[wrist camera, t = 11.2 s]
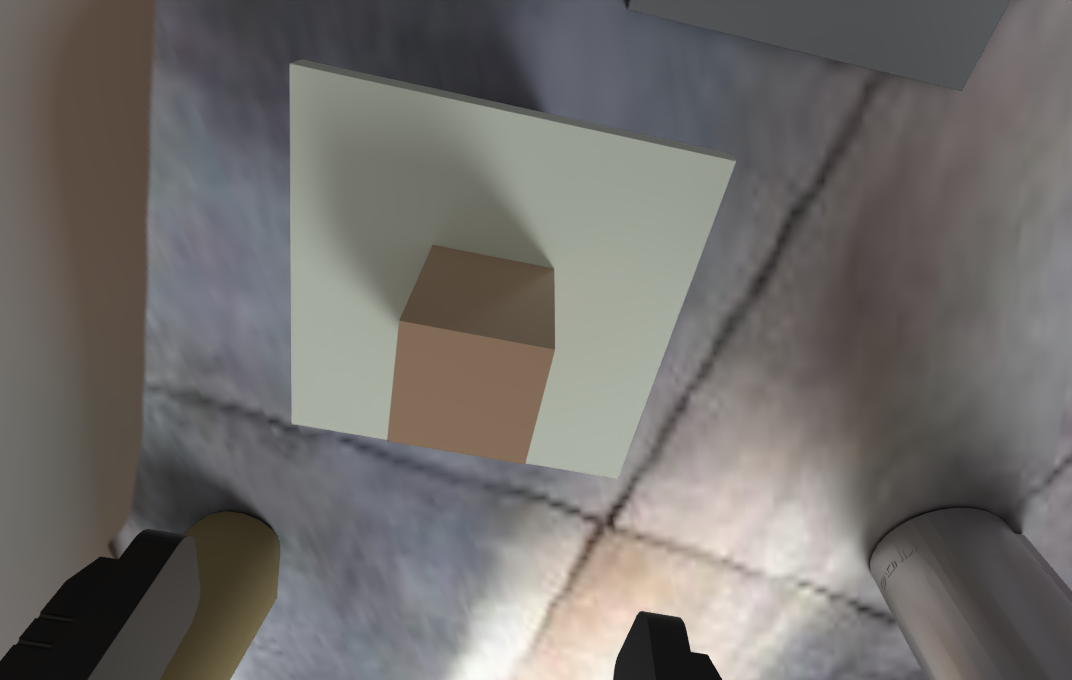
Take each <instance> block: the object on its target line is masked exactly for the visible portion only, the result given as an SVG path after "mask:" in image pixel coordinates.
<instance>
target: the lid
mask: <svg viewBox="0 0 1072 680" xmlns="http://www.w3.org/2000/svg"><path fill="white" fill-rule="evenodd" d="M735 163H736V161H735V160H734V159H733V158H732V157H731V156H730V155H729V154H728V153H726V152H722V151H717V150H713V149H708V148H704V147H699V146H694V145H690V144H685V143H681V142H676V141H672V140H667V139H663V138H658V137H653V136H649V135H644V134H640V133H635V132H631V131H626V130H622V129H617V128H612V127H608V126H603V125H599V124H594V123H590V122H585V121H581V120H576V119H572V118H567V117H562V116H558V115H553V114H549V113H544V112H540V111H535V110H531V109H526V108H521V107H517V106H512V105H508V104H503V103H499V102H494V101H490V100H485V99H480V98H476V97H471V96H467V95H462V94H458V93H453V92H449V91H444V90H439V89H435V88H430V87H426V86H421V85H417V84H412V83H408V82H403V81H399V80H394V79H389V78H385V77H380V76H376V75H371V74H367V73H362V72H358V71H353V70H348V69H344V68H339V67H335V66H330V65H326V64H321V63H317V62H312V61H307V60H303V59H302V60H299V61H296V62H293V63H290V218H291V380H292V424H297V425H303V426H309V427H315V428H320V429H326V430H332V431H338V432H344V433H350V434H356V435H362V436H368V437H374V438H380V439H386V440H387V441H391V442H396V443H402V444H408V445H414V446H420V447H426V448H432V449H438V450H444V451H450V452H456V453H462V454H468V455H474V456H479V457H485V458H491V459H497V460H503V461H509V462H515V463H521V464H525V463H528V464H534V465H540V466H545V467H551V468H557V469H563V470H569V471H575V472H581V473H587V474H593V475H599V476H605V477H611V478H617V479H618V476H619V474H620V471H621V468H622V466H623V463H624V460H625V458H626V455H627V452H628V450H629V447H630V444H631V442H632V439H633V436H634V434H635V431H636V428H637V426H638V423H639V420H640V418H641V415H642V412H643V409H644V407H645V404H646V401H647V399H648V396H649V393H650V391H651V388H652V385H653V383H654V380H655V377H656V375H657V372H658V369H659V367H660V364H661V361H662V359H663V356H664V353H665V351H666V348H667V345H668V343H669V340H670V337H671V335H672V332H673V329H674V327H675V324H676V321H677V318H678V316H679V313H680V310H681V308H682V305H683V302H684V300H685V297H686V294H687V292H688V289H689V286H690V284H691V281H692V278H693V276H694V273H695V270H696V268H697V265H698V262H699V260H700V257H701V254H702V252H703V249H704V246H705V244H706V241H707V238H708V236H709V233H710V230H711V228H712V225H713V222H714V219H715V217H716V214H717V211H718V209H719V206H720V203H721V201H722V198H723V195H724V193H725V190H726V187H727V185H728V182H729V179H730V177H731V174H732V171H733V169H734V166H735Z"/></svg>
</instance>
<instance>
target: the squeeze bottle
mask: <svg viewBox="0 0 1072 680" xmlns="http://www.w3.org/2000/svg"><path fill="white" fill-rule="evenodd" d="M182 535H188V536H192V537H193V538H194V540H195V545H196V554H197V563H198V572H199V580H200V599H199V604H198V607H197V610H196V613H195V616H194V618H193V621H192V623H191V625H190V627H189V629H188V631H187V632H186V634H185V636H184V638H183V639H182V641H181V643H180V645H179V646H178V648H177V650H176V652H175V653H174V655H173V657H172V659H171V660H170V662H169V664H168V666H167V667H166V669H165V671H164V673H163V674H162V676H161V678H160V680H230V679H231V677H232V675H233V674H234V672H235V670H236V668H237V667H238V665H239V663H240V661H241V660H242V658H243V656H244V654H245V653H246V651H247V649H248V647H249V646H250V644H251V642H252V640H253V639H254V637H255V635H256V633H257V632H258V630H259V628H260V626H261V625H262V623H263V621H264V619H265V618H266V616H267V614H268V612H269V611H270V609H271V607H272V605H273V604H274V602H275V600H276V599H277V589H278V575H279V561H280V541H279V540H278V538H277V536H276V535H275V533H274V532H273V530H272V529H271V528H269V527H268V526H267V525H265V524H264V523H263V522H261V521H260V520H258V519H256V518H253V517H251V516H248V515H246V514H242V513H235V512H228V511H225V512H219V513H212V514H210V515H208V516H207V517H205V518H203V519H202V520H200V521H199V522H197V523H196V524H195V525H194V526H192V527H191V528H190V529H188V530H187V531H186V532H184V533H183V534H182Z"/></svg>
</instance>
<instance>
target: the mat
mask: <svg viewBox="0 0 1072 680" xmlns="http://www.w3.org/2000/svg"><path fill="white" fill-rule="evenodd" d="M1009 2H1010V0H629V2H628V6H627V9H628V10H632V11H636V12H640V13H644V14H648V15H652V16H657V17H661V18H665V19H669V20H673V21H677V22H681V23H685V24H689V25H693V26H697V27H701V28H705V29H710V30H714V31H718V32H722V33H726V34H730V35H734V36H738V37H742V38H746V39H750V40H754V41H759V42H763V43H767V44H771V45H775V46H779V47H783V48H787V49H791V50H795V51H799V52H803V53H807V54H812V55H816V56H820V57H824V58H828V59H832V60H836V61H840V62H844V63H848V64H852V65H856V66H861V67H865V68H869V69H873V70H877V71H881V72H885V73H889V74H893V75H897V76H901V77H905V78H909V79H914V80H918V81H922V82H926V83H930V84H934V85H938V86H942V87H946V88H950V89H954V90H958V91H962V89H963V87H964V85H965V84H966V82H967V80H968V78H969V76H970V74H971V72H972V71H973V69H974V67H975V65H976V63H977V61H978V59H979V58H980V56H981V54H982V52H983V50H984V48H985V46H986V45H987V43H988V41H989V39H990V37H991V35H992V33H993V32H994V30H995V28H996V26H997V24H998V22H999V20H1000V19H1001V17H1002V15H1003V13H1004V11H1005V9H1006V8H1007V6H1008V4H1009Z"/></svg>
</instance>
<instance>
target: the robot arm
mask: <svg viewBox="0 0 1072 680" xmlns="http://www.w3.org/2000/svg"><path fill="white" fill-rule="evenodd" d="M870 571H871V574H872V576H873V578H874V580H875V582H876V584H877V586H878V588H879V590H880V592H881V594H882V596H883V597H884V599H885V601H886V603H887V605H888V607H889V609H890V611H891V613H892V614H893V616H894V618H895V620H896V622H897V624H898V626H899V628H900V630H901V632H902V634H903V636H904V637H905V639H906V641H907V643H908V645H909V647H910V649H911V651H912V652H913V654H914V656H915V658H916V660H917V662H918V664H919V666H920V667H921V669H922V671H923V673H924V675H925V677H926V679H927V680H1072V591H1071V590H1070V588H1069V587H1068V586H1067V585H1066V584H1065V583H1064V581H1063V580H1062V579H1061V578H1060V577H1059V575H1058V574H1057V573H1056V572H1055V571H1054V570H1053V568H1052V567H1051V566H1050V565H1049V564H1048V562H1047V561H1046V560H1045V559H1044V558H1043V557H1042V555H1041V554H1040V553H1039V552H1038V551H1037V549H1036V548H1035V547H1034V546H1033V545H1032V543H1031V542H1030V541H1029V540H1028V539H1027V538H1026V536H1024V535H1021V534H1016V533H1014V532H1013V531H1012V530H1011V529H1010V528H1009V526H1008V525H1007V524H1006V523H1005V522H1004V521H1003V520H1002V519H1000V518H999V517H998V516H996V515H994V514H992V513H989V512H987V511H984V510H979V509H973V508H951V509H942V510H938V511H934V512H930V513H926V514H923V515H920V516H918V517H915V518H913V519H910V520H909V521H907V522H905V523H903V524H901V525H900V526H898V527H896V528H895V529H894V530H892V531H891V532H890V533H889V534H887V535H886V536H885V537H884V538H883V539H882V540H881V542H880V543H879V544H878V545H877V547H876V549H875V550H874V552H873V554H872V557H871V561H870ZM199 599H200V580H199V572H198V563H197V554H196V545H195V540H194V538H193V537H192V536H188V535H181V534H175V533H169V532H163V531H157V530H151V529H146V530H143V531H142V532H140V533H139V534H138V535H137V536H136V537H135V538H134V540H133V541H132V542H131V544H130V545H129V546H128V548H127V549H126V550H125V551H124V553H123V554H122V555H121V557H120V558H119V559H112V558H106V557H99V558H98V559H96V560H95V561H94V562H92V563H91V564H89V565H88V566H87V567H85V568H84V569H82V570H81V571H80V572H78V573H77V574H75V575H74V576H72V577H71V578H70V579H68V580H67V581H66V582H65V583H64V584H63V585H62V586H61V588H60V589H59V590H58V591H57V593H56V594H55V595H54V596H53V597H52V599H51V600H50V601H49V602H48V603H47V605H46V606H45V607H44V608H43V610H42V611H41V613H40V616H39V617H38V618H37V619H36V618H35V619H34V621H33V622H32V623H31V624H30V625H29V627H28V628H27V629H26V630H25V632H24V633H23V634H22V635H21V636H20V638H19V641H18V643H17V644H16V645H13V646H12V647H11V649H10V650H9V651H8V652H7V653H6V655H5V656H4V657H3V658H2V660H1V661H0V680H160V678H161V676H162V674H163V673H164V671H165V669H166V667H167V666H168V664H169V662H170V660H171V659H172V657H173V655H174V653H175V652H176V650H177V648H178V646H179V645H180V643H181V641H182V639H183V638H184V636H185V634H186V632H187V631H188V629H189V627H190V625H191V623H192V621H193V618H194V616H195V613H196V610H197V607H198V604H199ZM613 680H722V678H721V677H720V675H719V673H718V671H717V670H716V668H715V666H714V665H713V663H712V661H711V660H710V658H709V656H708V655H707V654H700V653H694V652H691V651H690V646H689V641H688V636H687V631H686V627H685V624H684V622H683V620H682V619H681V618H680V617H674V616H668V615H662V614H656V613H650V612H644V611H641V612H639V613H638V615H637V616H636V618H635V621H634V623H633V625H632V627H631V629H630V631H629V633H628V635H627V637H626V640H625V642H624V644H623V646H622V648H621V650H620V652H619V654H618V657H617V660H616V664H615V669H614V678H613Z"/></svg>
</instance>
